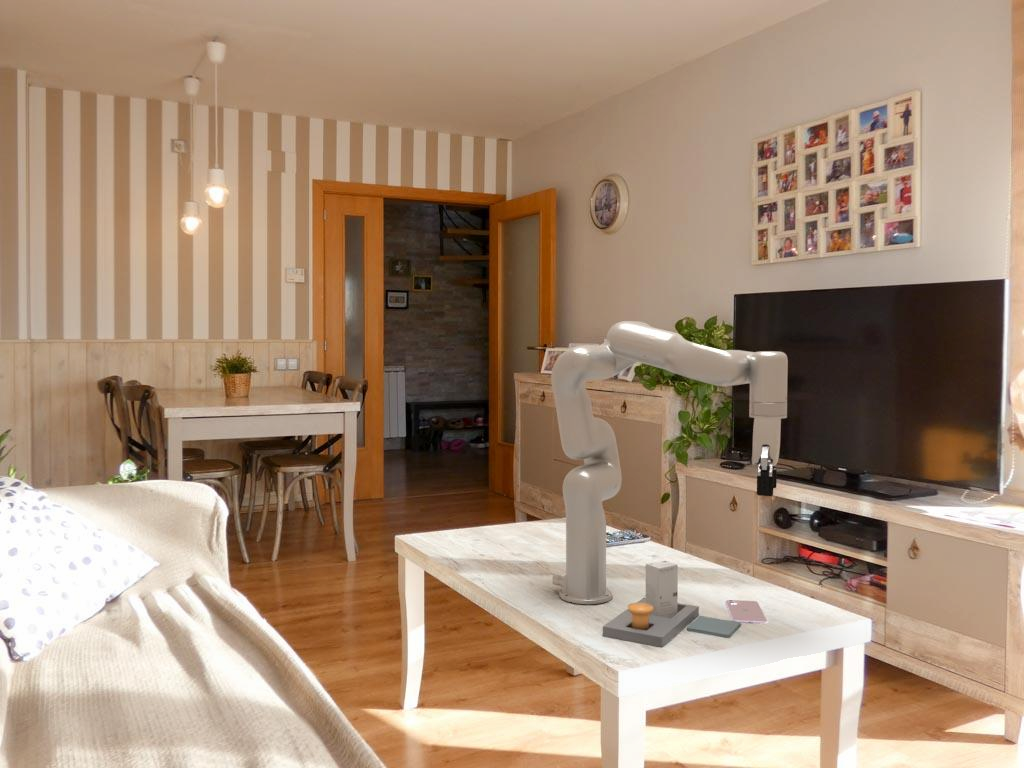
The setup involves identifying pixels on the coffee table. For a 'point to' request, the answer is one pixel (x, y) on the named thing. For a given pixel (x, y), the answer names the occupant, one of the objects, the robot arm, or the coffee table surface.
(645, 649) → the coffee table surface
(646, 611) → the plunger
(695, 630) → the mat
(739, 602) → the mobile phone
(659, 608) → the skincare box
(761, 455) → the robot arm
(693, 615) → the housing
